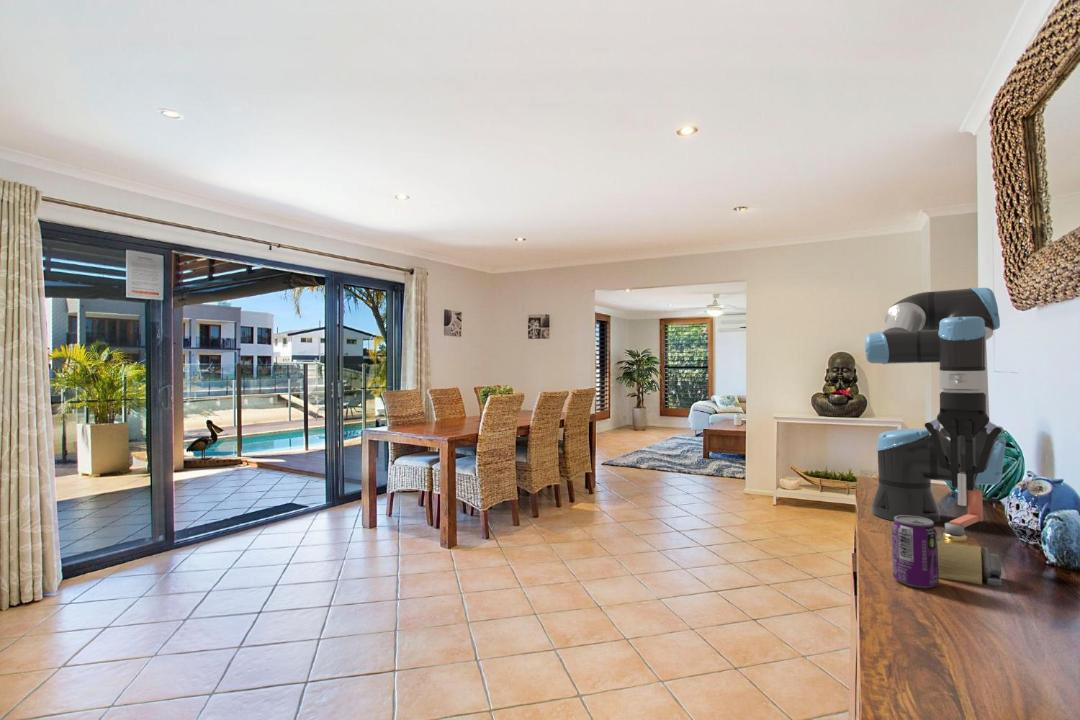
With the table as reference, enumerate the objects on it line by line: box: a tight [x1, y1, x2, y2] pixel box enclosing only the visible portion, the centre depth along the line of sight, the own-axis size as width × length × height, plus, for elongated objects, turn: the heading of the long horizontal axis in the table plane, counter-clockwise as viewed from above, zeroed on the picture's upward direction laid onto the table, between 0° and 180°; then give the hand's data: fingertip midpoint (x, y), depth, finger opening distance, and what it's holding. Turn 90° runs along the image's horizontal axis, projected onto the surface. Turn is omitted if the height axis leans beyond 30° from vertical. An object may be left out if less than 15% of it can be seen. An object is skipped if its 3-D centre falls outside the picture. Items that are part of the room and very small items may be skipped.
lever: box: [944, 488, 984, 535], centre depth 106 cm, size 13×3×7 cm, turn 122°
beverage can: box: [891, 515, 940, 589], centre depth 100 cm, size 7×7×12 cm
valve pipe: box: [937, 531, 1003, 587], centre depth 103 cm, size 6×13×8 cm, turn 58°
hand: (963, 504), depth 110 cm, fingers closed
